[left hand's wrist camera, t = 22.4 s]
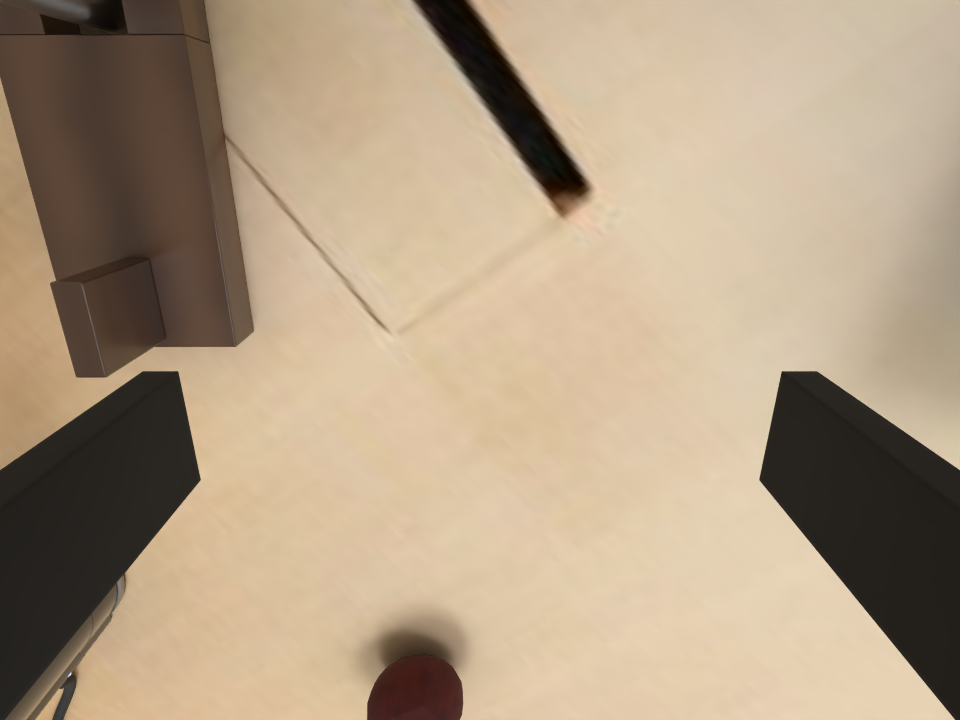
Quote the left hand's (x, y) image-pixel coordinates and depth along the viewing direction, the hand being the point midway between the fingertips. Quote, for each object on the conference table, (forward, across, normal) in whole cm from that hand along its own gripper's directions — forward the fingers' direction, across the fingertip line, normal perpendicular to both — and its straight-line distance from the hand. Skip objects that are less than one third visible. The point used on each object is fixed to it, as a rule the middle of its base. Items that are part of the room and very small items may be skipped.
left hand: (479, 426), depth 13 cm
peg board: (+25, +20, -6) cm, 32 cm away
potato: (+25, +5, +36) cm, 44 cm away
